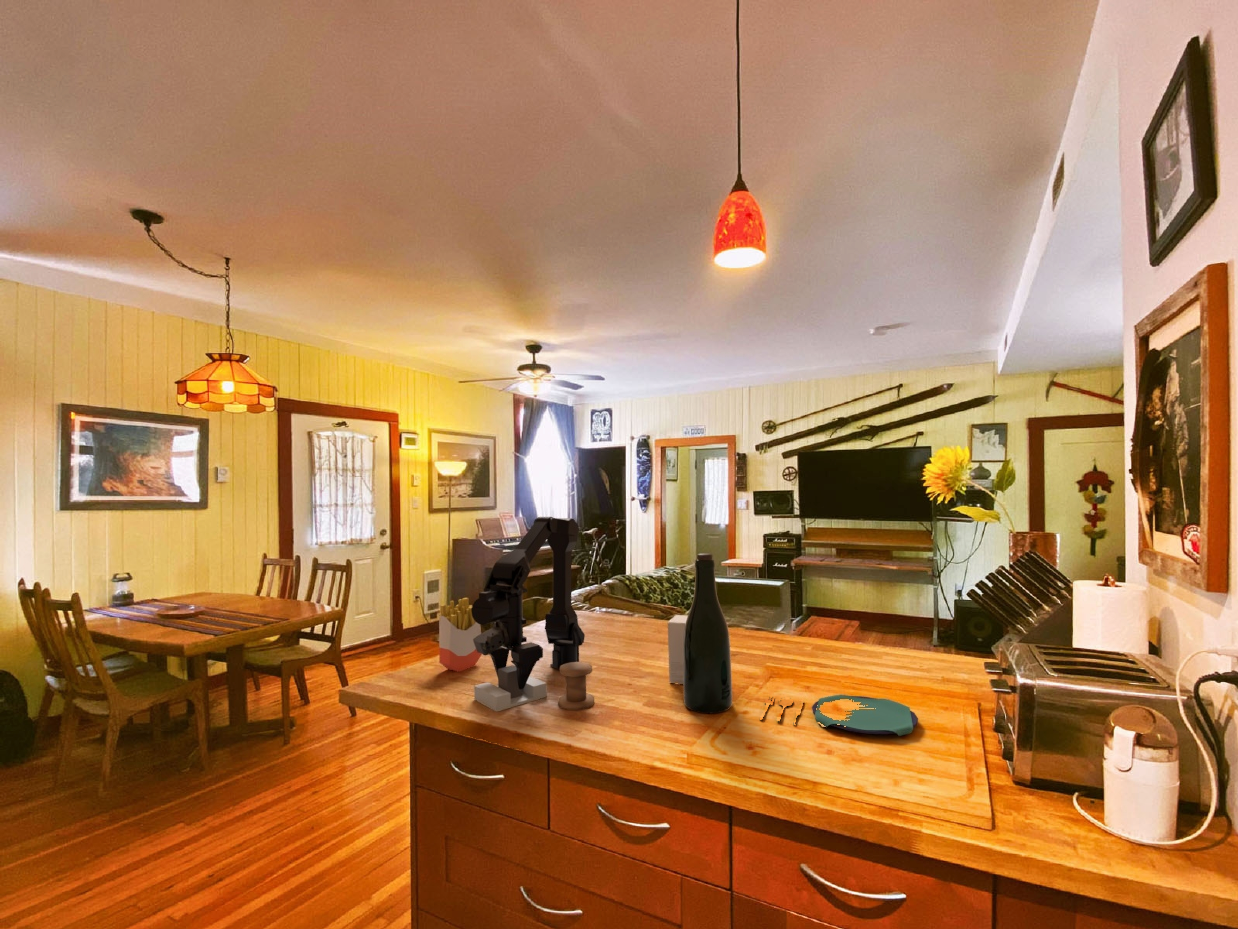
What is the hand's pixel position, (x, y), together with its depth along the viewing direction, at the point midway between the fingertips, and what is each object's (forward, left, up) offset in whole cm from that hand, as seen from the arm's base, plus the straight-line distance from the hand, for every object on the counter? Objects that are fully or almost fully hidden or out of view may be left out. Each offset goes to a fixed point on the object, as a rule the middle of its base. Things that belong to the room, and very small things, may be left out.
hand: (510, 684), depth 133 cm
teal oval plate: (-44, +56, -4) cm, 71 cm away
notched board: (0, 0, -3) cm, 3 cm away
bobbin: (-9, +13, -3) cm, 16 cm away
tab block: (0, 0, -3) cm, 3 cm away
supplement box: (-39, +20, -3) cm, 44 cm away
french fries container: (-2, -29, -3) cm, 29 cm away
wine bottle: (-29, +34, -3) cm, 45 cm away
